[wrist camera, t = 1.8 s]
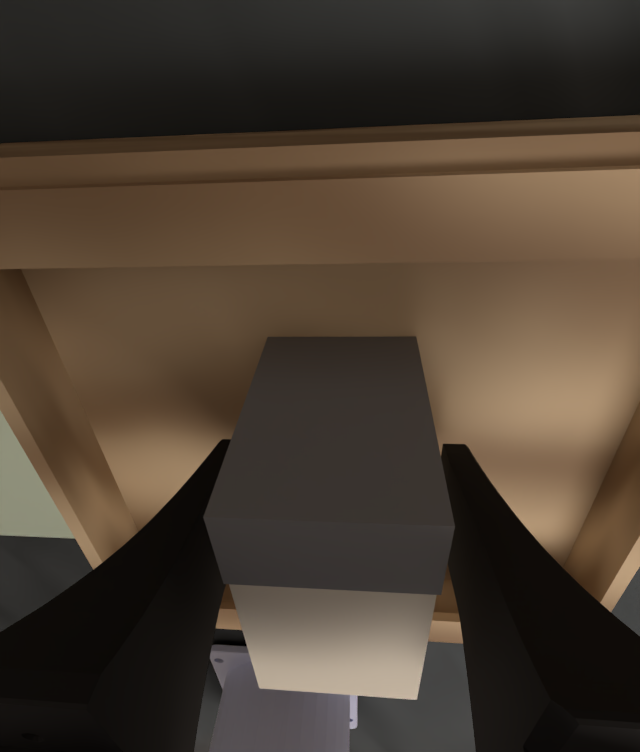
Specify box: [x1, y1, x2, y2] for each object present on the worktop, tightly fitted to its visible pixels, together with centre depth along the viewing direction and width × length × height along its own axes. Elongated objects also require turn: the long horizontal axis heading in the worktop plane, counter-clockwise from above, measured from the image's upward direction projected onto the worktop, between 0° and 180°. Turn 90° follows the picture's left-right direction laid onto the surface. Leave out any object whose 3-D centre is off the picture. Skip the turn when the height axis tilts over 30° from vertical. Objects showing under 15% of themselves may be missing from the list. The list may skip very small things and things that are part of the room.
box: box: [203, 336, 455, 700], centre depth 12 cm, size 7×4×6 cm, turn 3°
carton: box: [0, 115, 640, 643], centre depth 13 cm, size 17×18×3 cm
